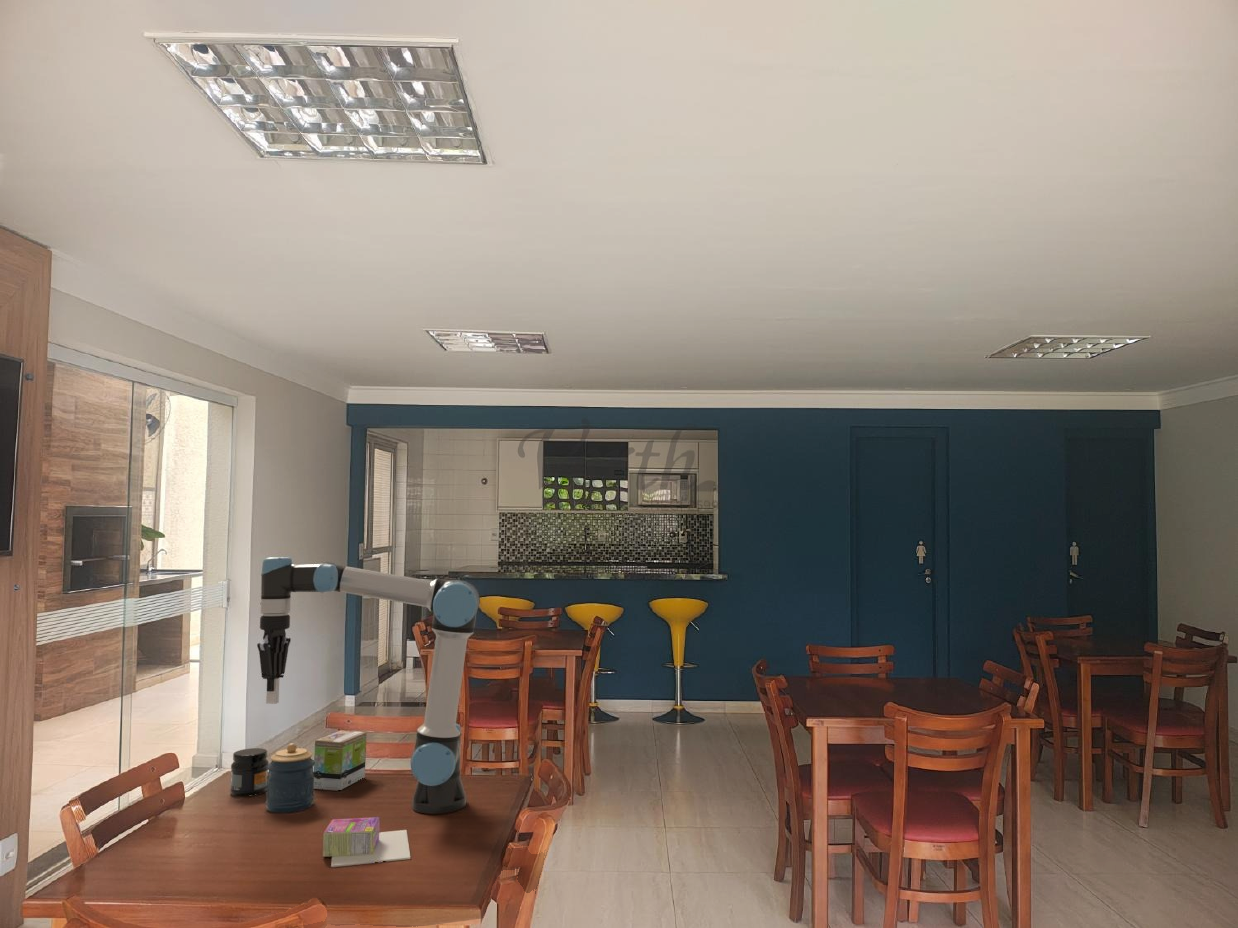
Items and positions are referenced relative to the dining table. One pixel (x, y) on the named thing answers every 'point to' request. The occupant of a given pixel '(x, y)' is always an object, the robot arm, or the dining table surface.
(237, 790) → the supplement container
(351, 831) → the box
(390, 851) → the mat
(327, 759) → the tea box
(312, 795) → the canister
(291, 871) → the dining table surface
